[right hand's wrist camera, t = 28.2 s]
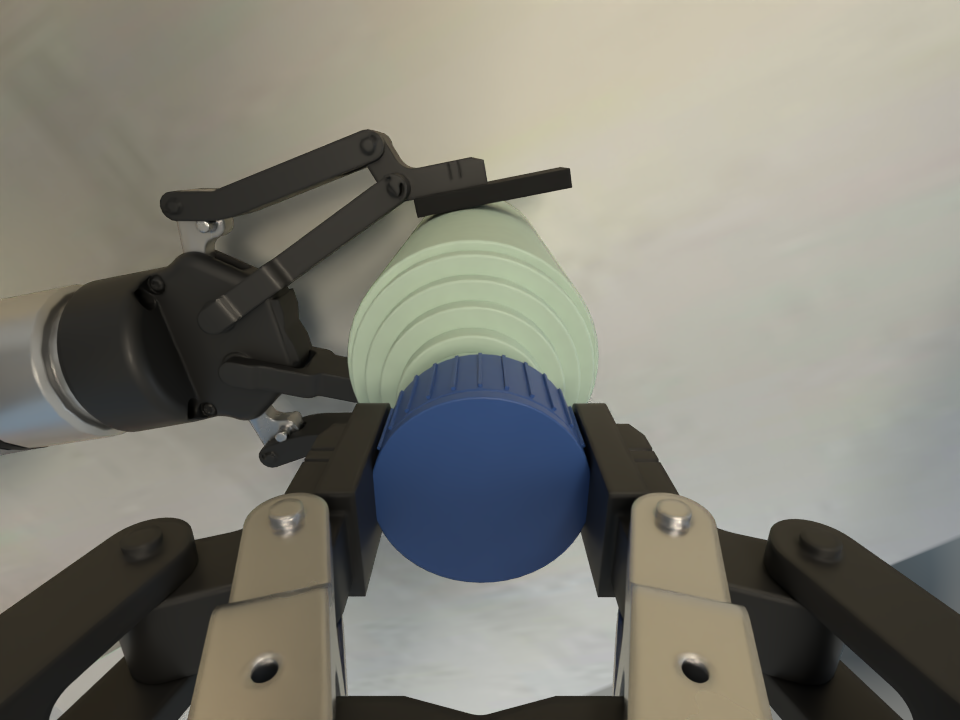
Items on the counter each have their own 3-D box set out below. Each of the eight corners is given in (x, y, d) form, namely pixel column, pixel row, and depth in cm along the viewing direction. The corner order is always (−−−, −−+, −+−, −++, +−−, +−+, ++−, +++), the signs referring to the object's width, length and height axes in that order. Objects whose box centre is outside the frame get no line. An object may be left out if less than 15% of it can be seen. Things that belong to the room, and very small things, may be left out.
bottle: (569, 254, 30) (738, 451, 11) (484, 350, 32) (494, 660, 13) (465, 163, 28) (436, 200, 9) (382, 272, 30) (212, 496, 11)
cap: (603, 379, 12) (631, 428, 10) (541, 533, 13) (552, 605, 11) (411, 327, 11) (395, 367, 9) (369, 493, 13) (348, 559, 11)
